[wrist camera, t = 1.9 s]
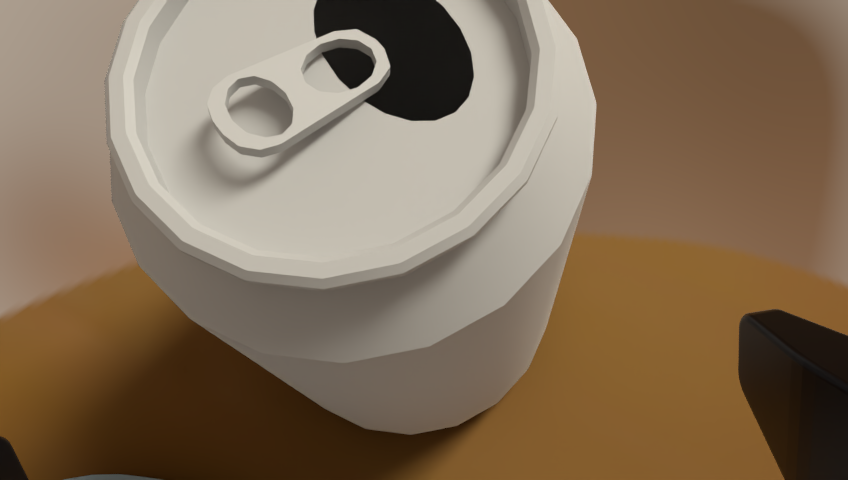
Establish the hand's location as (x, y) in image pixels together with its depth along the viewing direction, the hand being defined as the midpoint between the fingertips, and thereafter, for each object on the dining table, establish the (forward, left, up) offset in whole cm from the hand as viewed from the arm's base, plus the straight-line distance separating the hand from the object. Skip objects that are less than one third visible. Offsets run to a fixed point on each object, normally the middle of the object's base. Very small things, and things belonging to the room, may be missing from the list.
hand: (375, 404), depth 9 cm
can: (+4, -2, -11) cm, 12 cm away
